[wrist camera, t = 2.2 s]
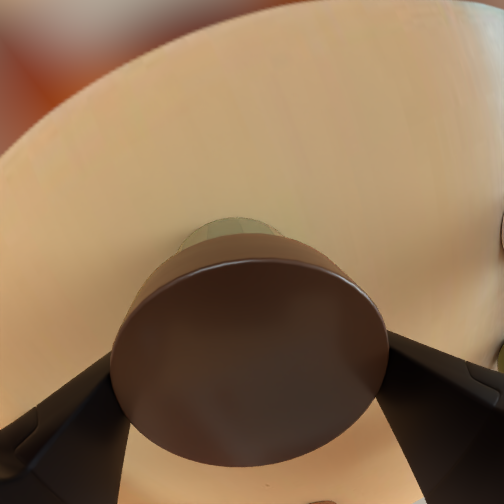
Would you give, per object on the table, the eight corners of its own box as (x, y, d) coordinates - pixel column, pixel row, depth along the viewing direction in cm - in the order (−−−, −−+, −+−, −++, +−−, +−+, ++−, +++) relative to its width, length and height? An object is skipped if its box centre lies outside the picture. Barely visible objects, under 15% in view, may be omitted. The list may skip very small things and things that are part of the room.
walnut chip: (220, 445, 10) (223, 485, 8) (82, 319, 7) (55, 359, 6) (384, 358, 9) (412, 393, 7) (291, 177, 7) (319, 185, 5)
